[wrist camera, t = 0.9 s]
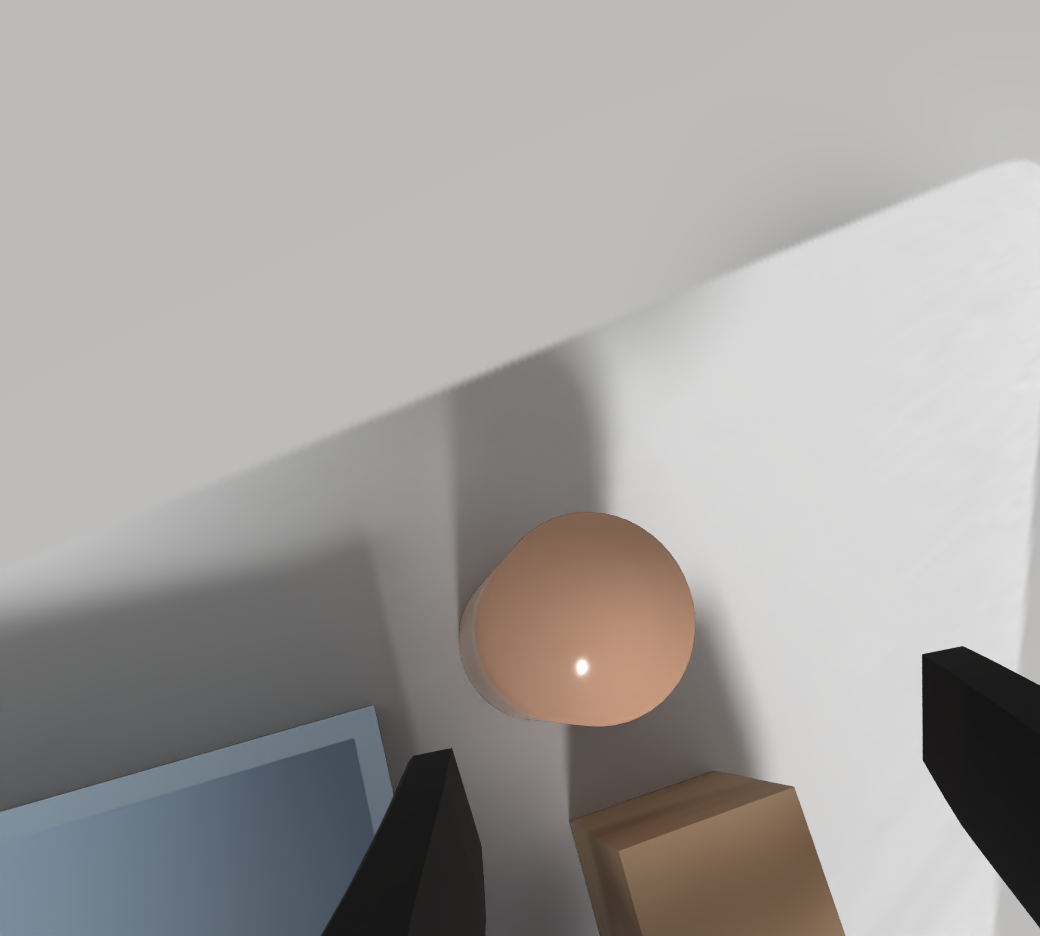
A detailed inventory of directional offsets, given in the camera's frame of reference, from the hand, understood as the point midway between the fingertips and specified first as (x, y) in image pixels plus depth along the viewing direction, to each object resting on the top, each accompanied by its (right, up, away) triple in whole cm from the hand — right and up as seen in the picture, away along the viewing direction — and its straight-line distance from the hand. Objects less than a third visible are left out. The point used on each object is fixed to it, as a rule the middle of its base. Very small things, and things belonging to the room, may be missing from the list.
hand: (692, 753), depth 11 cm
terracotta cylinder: (-2, -1, +13) cm, 13 cm away
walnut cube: (+2, -8, +12) cm, 14 cm away
